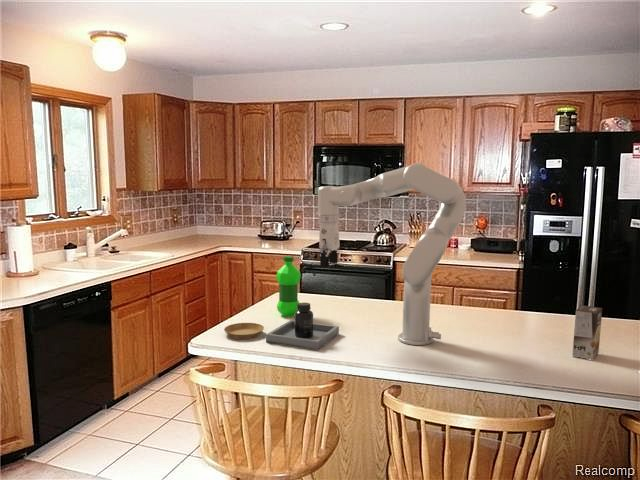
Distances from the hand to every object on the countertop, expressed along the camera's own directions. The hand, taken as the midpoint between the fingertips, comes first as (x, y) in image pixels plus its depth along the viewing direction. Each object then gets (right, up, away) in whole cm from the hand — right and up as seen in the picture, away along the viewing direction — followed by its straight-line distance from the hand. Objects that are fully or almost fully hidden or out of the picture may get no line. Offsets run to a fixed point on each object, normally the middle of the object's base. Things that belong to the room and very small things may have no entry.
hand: (329, 265), depth 196 cm
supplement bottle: (-9, -26, -4) cm, 28 cm away
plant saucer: (-32, -26, -1) cm, 41 cm away
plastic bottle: (-17, -23, +27) cm, 39 cm away
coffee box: (+86, -30, -20) cm, 93 cm away
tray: (-10, -27, -4) cm, 29 cm away
